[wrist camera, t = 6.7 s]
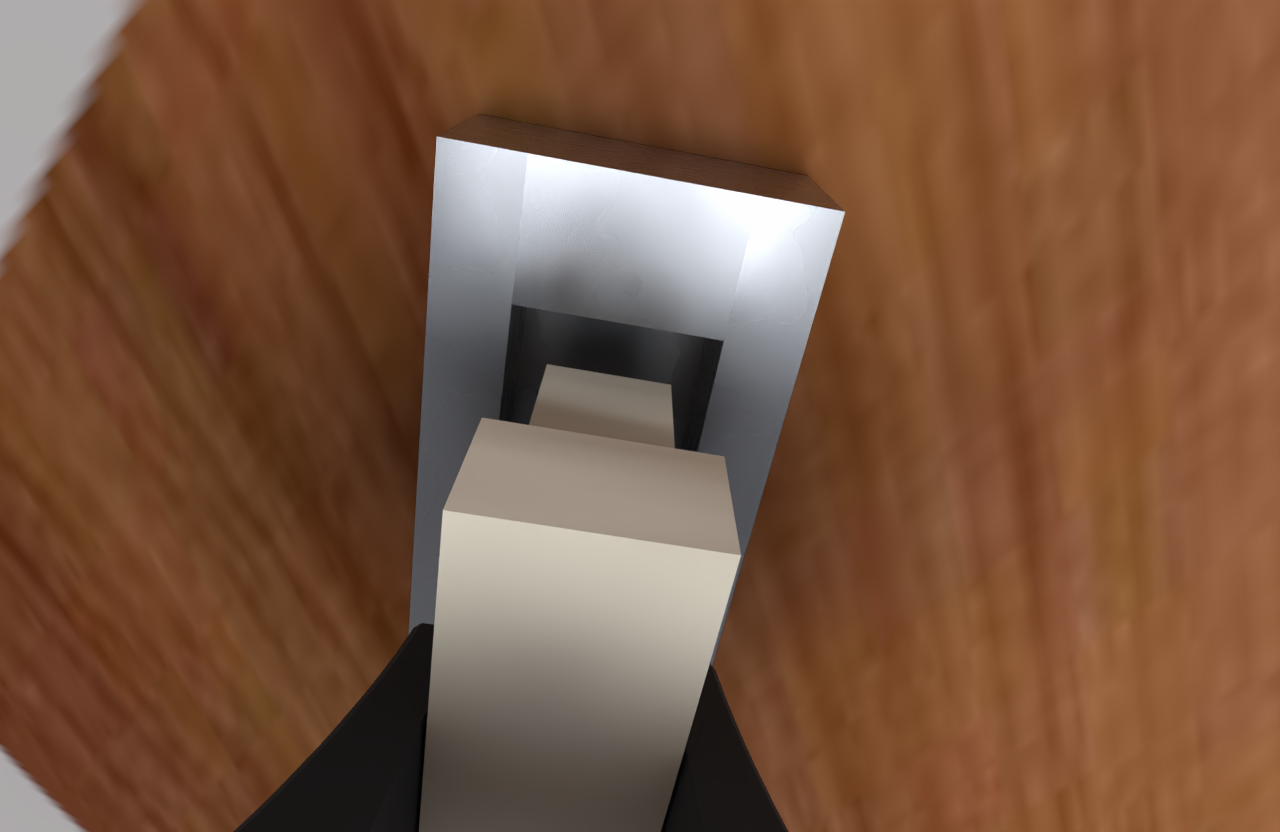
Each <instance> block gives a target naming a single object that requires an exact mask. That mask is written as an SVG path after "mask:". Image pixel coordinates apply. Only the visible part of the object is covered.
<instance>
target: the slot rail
mask: <svg viewBox="0 0 1280 832" xmlns="http://www.w3.org/2000/svg"><path fill="white" fill-rule="evenodd" d="M844 213H845V211H844V210H843V209H842V208H841V207H840V206H839V205H838V204H837V203H836V202H835V201H834V200H832V199H831V198H830V197H829V196H828V195H827V194H826V193H825V192H824V191H823V190H822V189H821V188H820V187H819V186H818V185H817V184H816V183H815V182H814V181H813V180H812V179H811V178H810V177H809V176H807V175H802V174H797V173H791V172H786V171H780V170H775V169H770V168H764V167H759V166H754V165H748V164H743V163H738V162H732V161H727V160H722V159H716V158H711V157H706V156H700V155H695V154H690V153H684V152H679V151H674V150H668V149H663V148H658V147H652V146H647V145H642V144H636V143H631V142H626V141H620V140H615V139H610V138H604V137H599V136H594V135H588V134H583V133H577V132H572V131H567V130H561V129H556V128H551V127H545V126H540V125H535V124H529V123H524V122H519V121H513V120H508V119H503V118H497V117H492V116H487V115H481V114H477V115H475V116H473V117H471V118H470V119H468V120H466V121H464V122H462V123H460V124H459V125H457V126H455V127H453V128H451V129H449V130H448V131H446V132H444V133H442V134H440V135H438V136H437V141H436V159H435V176H434V194H433V212H432V229H431V247H430V265H429V282H428V300H427V318H426V336H425V353H424V371H423V389H422V406H421V424H420V442H419V459H418V477H417V495H416V512H415V530H414V548H413V565H412V583H411V601H410V618H409V634H410V632H411V631H412V629H413V628H414V627H416V626H417V625H419V624H421V623H427V624H434V622H435V609H436V595H437V582H438V569H439V555H440V542H441V529H442V515H443V509H444V506H445V504H446V502H447V499H448V497H449V494H450V492H451V490H452V487H453V485H454V483H455V480H456V478H457V475H458V473H459V471H460V468H461V466H462V464H463V461H464V459H465V456H466V454H467V452H468V449H469V447H470V445H471V442H472V440H473V437H474V435H475V433H476V430H477V428H478V425H479V423H480V421H481V418H488V419H494V420H500V421H507V422H513V423H519V424H525V425H529V423H530V420H531V416H532V413H533V409H534V406H535V403H536V399H537V396H538V393H539V389H540V386H541V383H542V379H543V376H544V373H545V369H546V366H547V364H549V365H555V366H561V367H567V368H573V369H579V370H585V371H591V372H597V373H603V374H609V375H615V376H621V377H627V378H633V379H639V380H645V381H651V382H657V383H663V384H669V385H671V393H672V410H673V428H674V445H675V449H681V450H687V451H694V452H700V453H706V454H712V455H718V456H724V457H725V463H726V469H727V475H728V481H729V487H730V493H731V499H732V505H733V510H734V516H735V522H736V528H737V534H738V540H739V546H740V552H741V557H740V561H739V564H738V568H737V571H736V575H735V578H734V582H733V585H732V588H731V592H730V595H729V599H728V602H727V606H726V609H725V613H724V616H723V619H722V623H721V626H720V630H719V633H718V637H717V640H716V643H715V647H714V650H713V654H712V657H711V661H710V664H711V665H713V661H714V658H715V655H716V651H717V648H718V644H719V641H720V637H721V634H722V631H723V627H724V624H725V620H726V617H727V614H728V610H729V607H730V603H731V600H732V596H733V593H734V590H735V586H736V583H737V579H738V576H739V572H740V569H741V566H742V562H743V559H744V555H745V552H746V549H747V545H748V542H749V538H750V535H751V531H752V528H753V525H754V521H755V518H756V514H757V511H758V508H759V504H760V501H761V497H762V494H763V490H764V487H765V484H766V480H767V477H768V473H769V470H770V466H771V463H772V460H773V456H774V453H775V449H776V446H777V443H778V439H779V436H780V432H781V429H782V425H783V422H784V419H785V415H786V412H787V408H788V405H789V401H790V398H791V395H792V391H793V388H794V384H795V381H796V378H797V374H798V371H799V367H800V364H801V360H802V357H803V354H804V350H805V347H806V343H807V340H808V337H809V333H810V330H811V326H812V323H813V319H814V316H815V313H816V309H817V306H818V302H819V299H820V295H821V292H822V289H823V285H824V282H825V278H826V275H827V272H828V268H829V265H830V261H831V258H832V254H833V251H834V248H835V244H836V241H837V237H838V234H839V230H840V227H841V224H842V220H843V217H844Z"/></svg>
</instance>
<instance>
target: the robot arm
mask: <svg viewBox="0 0 1280 832" xmlns="http://www.w3.org/2000/svg"><path fill="white" fill-rule="evenodd" d="M433 635H434V624H427V623H421V624H419V625H417V626H416V627H414V628H413V629H412V631H411V632H410V634H409V635H408V637H407V638H406V640H405V641H404V643H403V644H402V646H401V647H400V648H399V650H398V651H397V653H396V654H395V655H394V657H393V658H392V660H391V661H390V662H389V664H388V665H387V666H386V667H385V669H384V670H383V671H382V673H381V674H380V675H379V676H378V678H377V679H376V680H375V681H374V683H373V684H372V685H371V686H370V688H369V689H368V690H367V691H366V693H365V694H364V695H363V696H362V698H361V699H360V700H359V701H358V702H357V703H356V705H355V706H354V707H353V708H352V709H351V710H350V712H349V713H348V714H347V715H346V716H345V717H344V718H343V720H342V721H341V722H340V723H339V724H338V725H337V727H336V728H335V729H334V730H333V731H332V732H331V734H330V735H329V736H328V737H327V738H326V739H325V740H324V741H323V742H322V744H321V745H320V746H319V747H318V748H317V749H316V750H315V751H314V752H313V753H312V754H311V755H310V756H309V757H308V758H307V759H306V760H305V761H304V762H303V763H302V765H301V766H300V767H299V768H298V769H297V770H296V771H295V772H294V773H293V774H292V775H291V776H290V777H289V778H288V779H287V780H286V781H285V782H284V783H283V784H282V785H281V786H280V787H279V789H278V790H277V791H276V792H275V793H274V794H273V795H272V796H270V797H269V798H268V799H267V800H266V801H265V802H264V803H263V804H262V805H261V806H260V807H259V808H258V809H257V810H256V811H255V812H254V813H253V814H252V815H251V816H250V817H249V818H248V819H247V820H246V821H244V822H243V823H242V824H241V825H240V826H239V827H238V828H237V829H236V830H235V831H234V832H419V822H420V809H421V796H422V782H423V769H424V756H425V742H426V729H427V716H428V702H429V689H430V676H431V662H432V649H433ZM661 832H788V830H787V828H786V826H785V824H784V823H783V821H782V819H781V817H780V815H779V813H778V811H777V809H776V807H775V805H774V803H773V801H772V799H771V797H770V795H769V793H768V791H767V789H766V787H765V785H764V783H763V781H762V779H761V777H760V775H759V773H758V771H757V769H756V767H755V765H754V763H753V760H752V758H751V756H750V754H749V752H748V750H747V747H746V745H745V743H744V740H743V738H742V736H741V734H740V731H739V729H738V727H737V724H736V722H735V720H734V717H733V715H732V712H731V710H730V708H729V705H728V702H727V700H726V697H725V695H724V692H723V689H722V687H721V684H720V681H719V679H718V676H717V673H716V670H715V669H714V668H713V667H712V665H711V664H709V668H708V671H707V674H706V678H705V681H704V685H703V688H702V692H701V695H700V699H699V702H698V705H697V709H696V712H695V716H694V719H693V723H692V726H691V729H690V733H689V736H688V740H687V743H686V747H685V750H684V754H683V757H682V760H681V764H680V767H679V771H678V774H677V778H676V781H675V785H674V788H673V791H672V795H671V798H670V802H669V805H668V809H667V812H666V815H665V819H664V822H663V826H662V829H661Z"/></svg>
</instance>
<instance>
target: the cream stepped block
mask: <svg viewBox="0 0 1280 832" xmlns="http://www.w3.org/2000/svg"><path fill="white" fill-rule="evenodd" d="M740 557H741V552H740V546H739V540H738V534H737V528H736V522H735V516H734V510H733V505H732V499H731V493H730V487H729V481H728V475H727V469H726V463H725V457H724V456H718V455H712V454H706V453H700V452H694V451H687V450H681V449H675V445H674V428H673V410H672V393H671V385H669V384H663V383H657V382H651V381H645V380H639V379H633V378H627V377H621V376H615V375H609V374H603V373H597V372H591V371H585V370H579V369H573V368H567V367H561V366H555V365H549V364H547V366H546V369H545V373H544V376H543V379H542V383H541V386H540V389H539V393H538V396H537V399H536V403H535V406H534V409H533V413H532V416H531V420H530V423H529V425H525V424H519V423H513V422H507V421H500V420H494V419H488V418H481V421H480V423H479V425H478V428H477V430H476V433H475V435H474V437H473V440H472V442H471V445H470V447H469V449H468V452H467V454H466V456H465V459H464V461H463V464H462V466H461V468H460V471H459V473H458V475H457V478H456V480H455V483H454V485H453V487H452V490H451V492H450V494H449V497H448V499H447V502H446V504H445V506H444V509H443V515H442V529H441V542H440V555H439V569H438V582H437V595H436V609H435V622H434V635H433V649H432V662H431V676H430V689H429V702H428V716H427V729H426V742H425V756H424V769H423V782H422V796H421V809H420V822H419V832H661V829H662V826H663V822H664V819H665V815H666V812H667V809H668V805H669V802H670V798H671V795H672V791H673V788H674V785H675V781H676V778H677V774H678V771H679V767H680V764H681V760H682V757H683V754H684V750H685V747H686V743H687V740H688V736H689V733H690V729H691V726H692V723H693V719H694V716H695V712H696V709H697V705H698V702H699V699H700V695H701V692H702V688H703V685H704V681H705V678H706V674H707V671H708V668H709V664H710V661H711V657H712V654H713V650H714V647H715V643H716V640H717V637H718V633H719V630H720V626H721V623H722V619H723V616H724V613H725V609H726V606H727V602H728V599H729V595H730V592H731V588H732V585H733V582H734V578H735V575H736V571H737V568H738V564H739V561H740Z"/></svg>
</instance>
